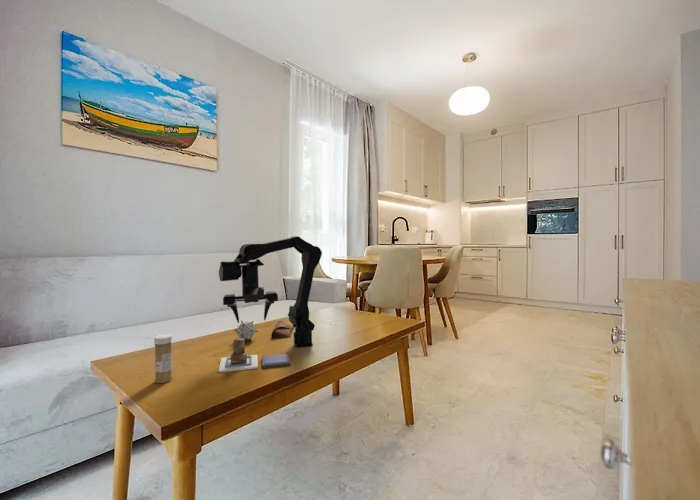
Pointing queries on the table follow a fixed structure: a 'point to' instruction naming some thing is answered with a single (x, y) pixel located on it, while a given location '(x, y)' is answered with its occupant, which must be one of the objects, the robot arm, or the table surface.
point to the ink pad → (275, 361)
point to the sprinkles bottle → (163, 358)
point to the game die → (246, 330)
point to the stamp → (238, 352)
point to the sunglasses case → (282, 330)
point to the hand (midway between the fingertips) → (251, 321)
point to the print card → (226, 364)
